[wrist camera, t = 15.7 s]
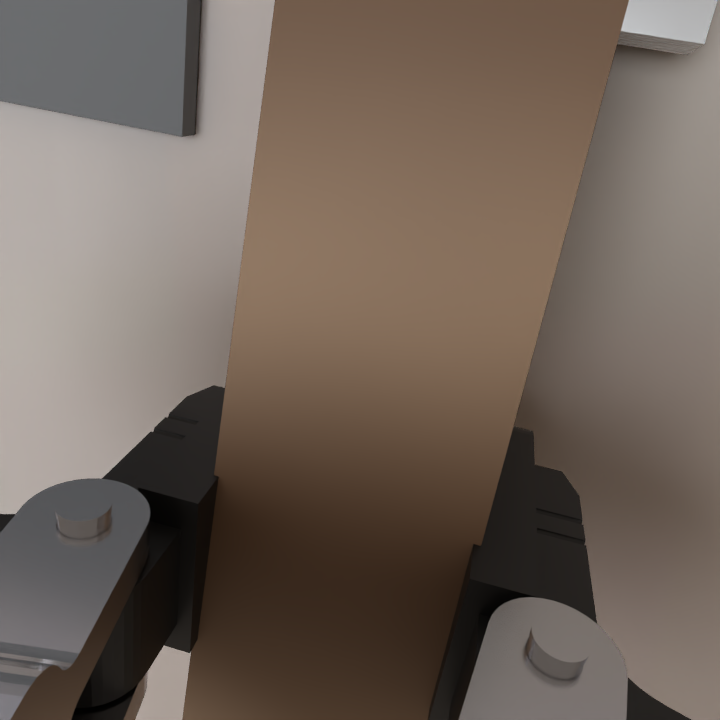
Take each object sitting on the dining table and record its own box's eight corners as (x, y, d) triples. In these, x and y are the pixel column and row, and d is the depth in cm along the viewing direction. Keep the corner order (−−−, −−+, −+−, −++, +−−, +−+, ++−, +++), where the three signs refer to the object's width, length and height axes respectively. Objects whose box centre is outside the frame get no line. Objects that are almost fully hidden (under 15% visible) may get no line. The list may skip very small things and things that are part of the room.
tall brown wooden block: (475, 758, 13) (466, 1037, 9) (193, 671, 14) (60, 888, 10) (856, -507, 8) (1328, -1402, 3) (352, -532, 8) (205, -1271, 4)
